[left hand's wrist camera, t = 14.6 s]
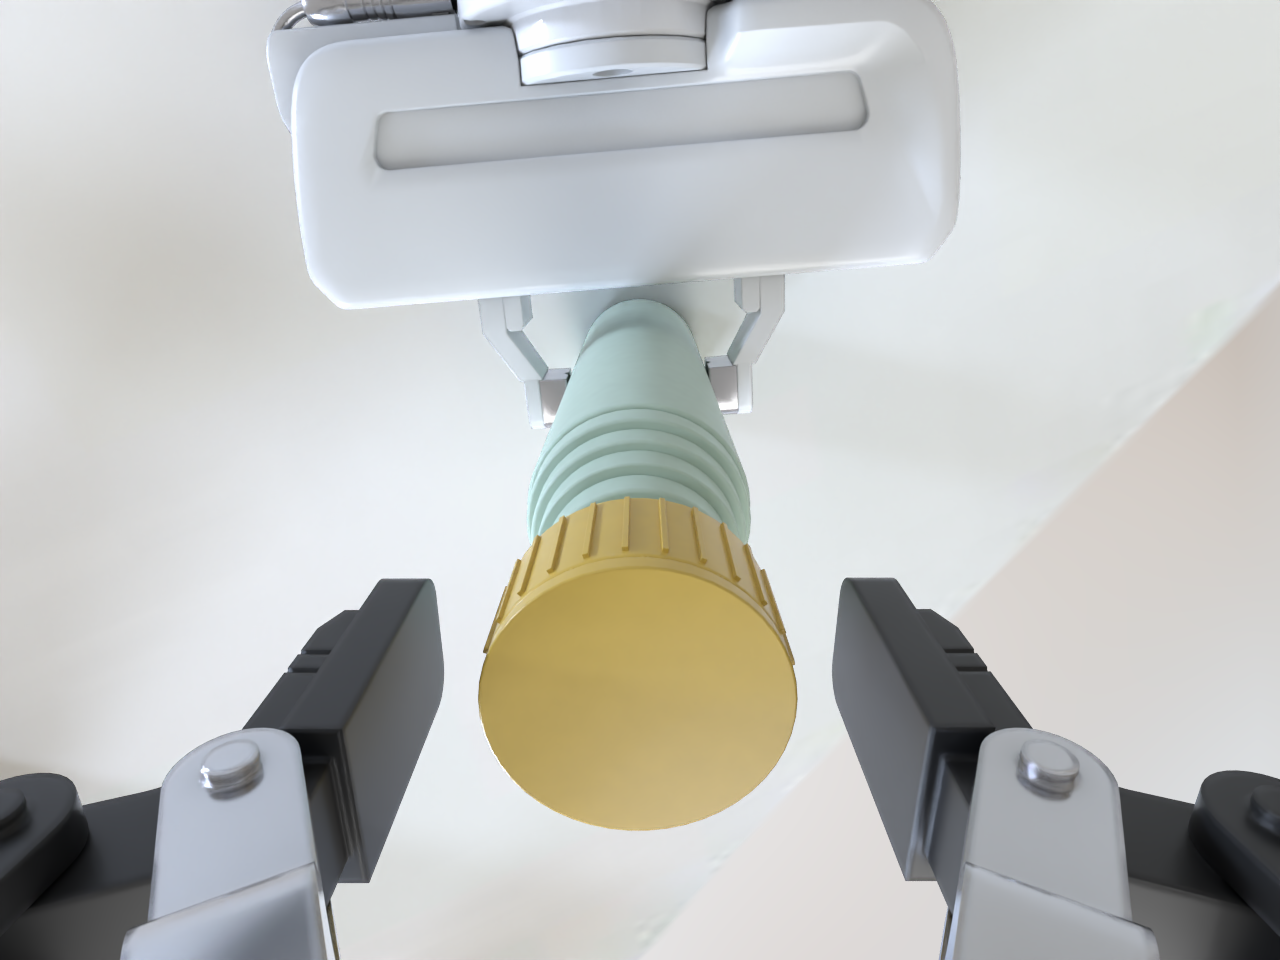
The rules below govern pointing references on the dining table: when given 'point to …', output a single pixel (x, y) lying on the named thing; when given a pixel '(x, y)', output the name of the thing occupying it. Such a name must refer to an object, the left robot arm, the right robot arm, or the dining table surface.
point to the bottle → (639, 426)
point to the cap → (637, 668)
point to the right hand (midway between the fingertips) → (642, 417)
